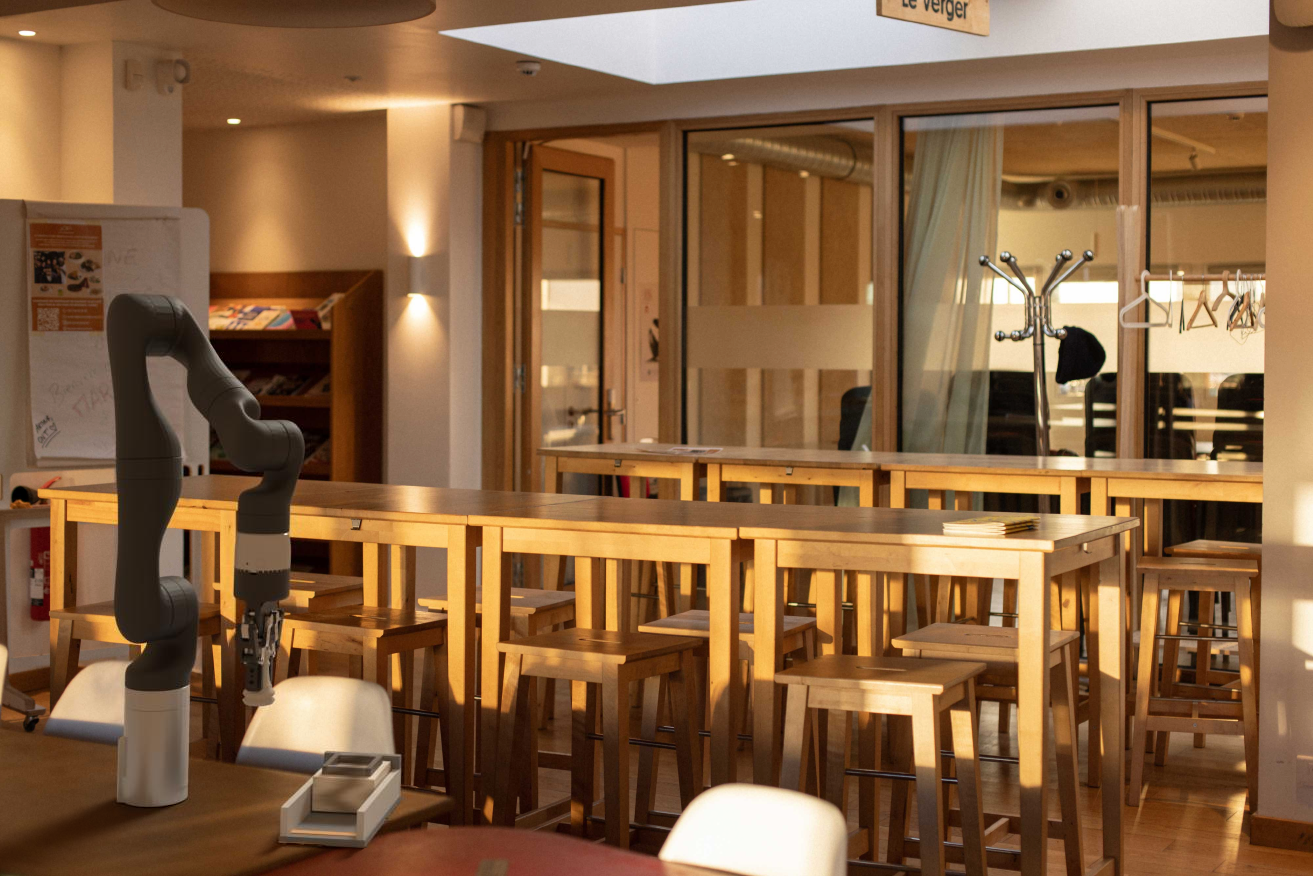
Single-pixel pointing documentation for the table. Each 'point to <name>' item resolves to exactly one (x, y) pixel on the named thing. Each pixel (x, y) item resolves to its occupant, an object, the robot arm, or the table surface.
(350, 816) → the crate bay
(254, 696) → the rook chess piece
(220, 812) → the table surface
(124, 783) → the robot arm
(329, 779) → the frame
